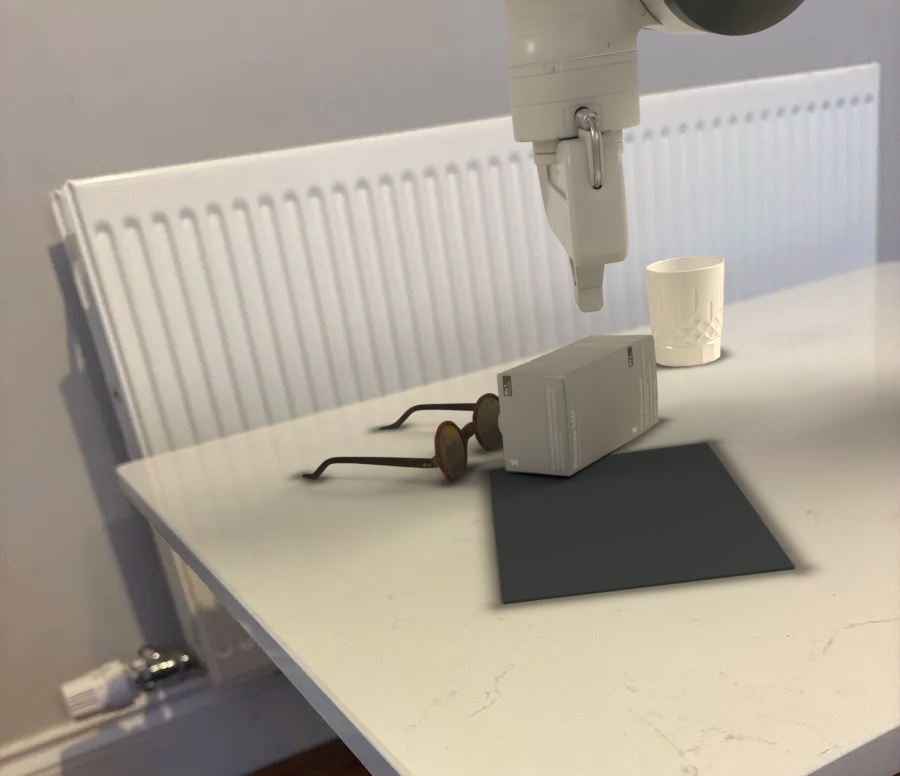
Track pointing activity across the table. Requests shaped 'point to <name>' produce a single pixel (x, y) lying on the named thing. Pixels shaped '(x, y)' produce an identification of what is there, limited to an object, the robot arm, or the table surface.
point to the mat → (627, 526)
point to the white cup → (686, 309)
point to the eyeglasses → (441, 439)
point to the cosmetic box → (577, 403)
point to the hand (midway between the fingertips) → (589, 308)
